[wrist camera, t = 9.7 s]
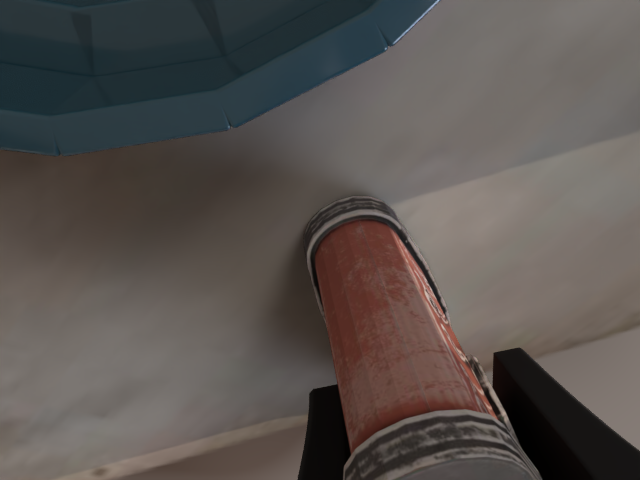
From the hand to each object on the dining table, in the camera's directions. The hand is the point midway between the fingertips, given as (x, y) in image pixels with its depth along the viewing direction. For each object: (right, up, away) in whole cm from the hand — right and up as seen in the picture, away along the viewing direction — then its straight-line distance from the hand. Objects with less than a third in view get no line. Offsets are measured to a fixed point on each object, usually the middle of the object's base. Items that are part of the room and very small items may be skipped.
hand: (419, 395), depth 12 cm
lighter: (0, +2, +3) cm, 4 cm away
